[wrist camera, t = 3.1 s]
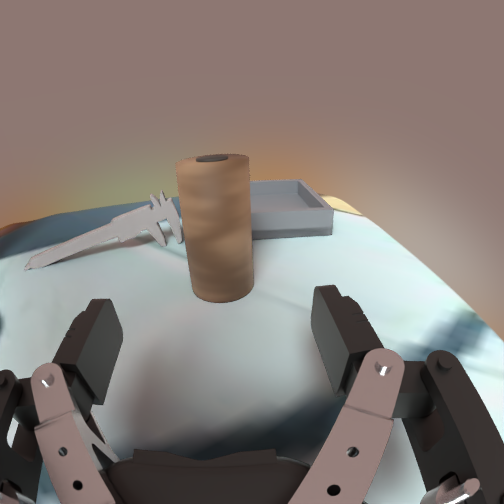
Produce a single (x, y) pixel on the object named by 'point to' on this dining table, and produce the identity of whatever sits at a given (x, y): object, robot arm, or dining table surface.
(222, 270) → the cylinder
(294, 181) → the tray
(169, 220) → the caliper
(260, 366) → the dining table surface
